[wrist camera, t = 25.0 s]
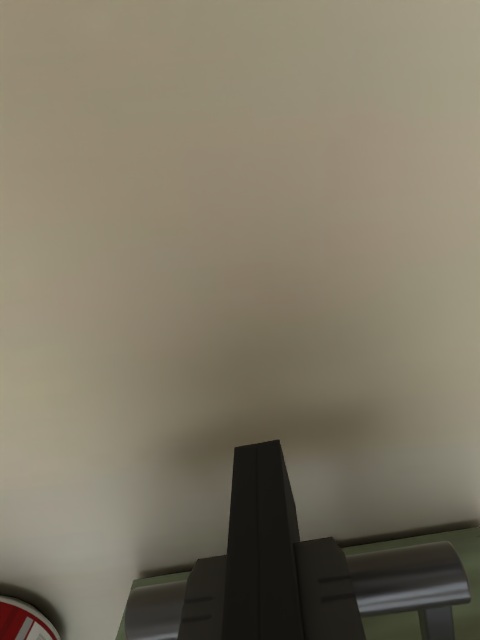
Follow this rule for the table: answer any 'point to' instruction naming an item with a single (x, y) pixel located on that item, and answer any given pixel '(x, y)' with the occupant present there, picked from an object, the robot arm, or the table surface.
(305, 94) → the table surface
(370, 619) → the drawer
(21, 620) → the soda can
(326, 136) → the table surface
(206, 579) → the robot arm
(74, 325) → the table surface
